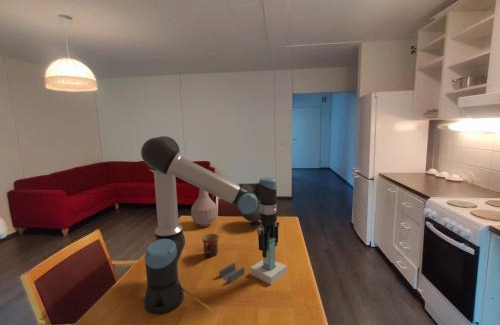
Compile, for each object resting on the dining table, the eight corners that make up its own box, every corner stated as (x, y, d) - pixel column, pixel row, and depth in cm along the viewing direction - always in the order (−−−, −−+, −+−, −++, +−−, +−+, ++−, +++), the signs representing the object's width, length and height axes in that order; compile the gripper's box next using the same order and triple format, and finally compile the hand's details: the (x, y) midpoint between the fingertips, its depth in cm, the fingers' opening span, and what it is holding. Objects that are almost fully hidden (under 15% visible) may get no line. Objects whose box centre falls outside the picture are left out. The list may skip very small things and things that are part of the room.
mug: (206, 250, 143) (205, 233, 141) (221, 251, 141) (220, 234, 140) (197, 261, 131) (196, 242, 130) (213, 263, 130) (213, 244, 128)
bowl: (239, 221, 185) (239, 201, 183) (266, 219, 188) (265, 199, 185) (241, 232, 166) (241, 210, 164) (271, 230, 168) (271, 208, 166)
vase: (190, 222, 184) (187, 181, 180) (213, 218, 191) (212, 179, 187) (194, 231, 168) (192, 187, 164) (220, 227, 175) (219, 184, 171)
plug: (270, 270, 115) (269, 241, 113) (262, 267, 118) (262, 239, 116) (275, 267, 119) (275, 238, 117) (268, 263, 121) (267, 235, 119)
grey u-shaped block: (230, 284, 112) (230, 276, 112) (219, 277, 117) (219, 270, 117) (244, 275, 119) (244, 267, 118) (233, 269, 124) (233, 262, 123)
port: (271, 286, 111) (271, 276, 110) (250, 275, 119) (250, 266, 118) (286, 273, 119) (286, 264, 119) (266, 264, 127) (266, 256, 127)
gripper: (262, 219, 106) (263, 272, 109) (286, 209, 118) (286, 256, 122) (249, 215, 111) (250, 266, 114) (273, 205, 123) (273, 251, 127)
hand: (269, 261), depth 118 cm, fingers closed on plug, 4 cm apart
